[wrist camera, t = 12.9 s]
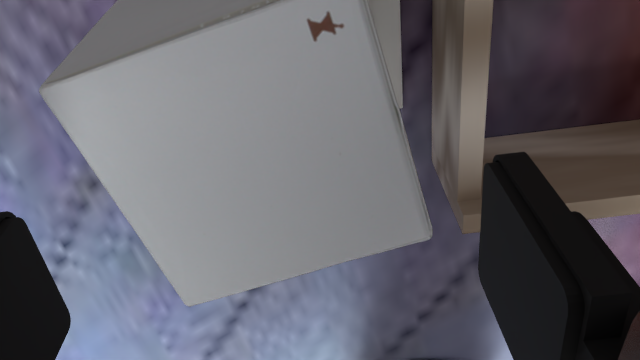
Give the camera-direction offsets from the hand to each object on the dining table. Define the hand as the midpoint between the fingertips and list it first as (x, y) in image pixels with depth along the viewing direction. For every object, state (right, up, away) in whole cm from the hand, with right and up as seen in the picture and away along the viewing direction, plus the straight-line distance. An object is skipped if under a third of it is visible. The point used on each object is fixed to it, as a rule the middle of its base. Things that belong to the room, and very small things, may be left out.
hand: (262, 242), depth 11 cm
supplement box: (-1, +9, +12) cm, 15 cm away
